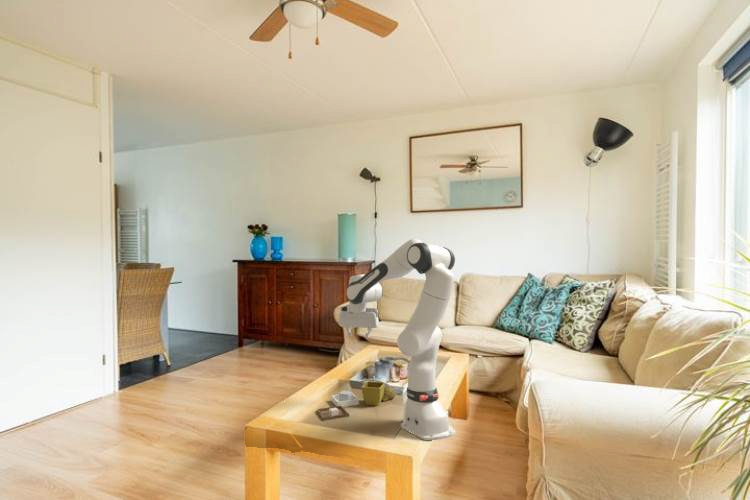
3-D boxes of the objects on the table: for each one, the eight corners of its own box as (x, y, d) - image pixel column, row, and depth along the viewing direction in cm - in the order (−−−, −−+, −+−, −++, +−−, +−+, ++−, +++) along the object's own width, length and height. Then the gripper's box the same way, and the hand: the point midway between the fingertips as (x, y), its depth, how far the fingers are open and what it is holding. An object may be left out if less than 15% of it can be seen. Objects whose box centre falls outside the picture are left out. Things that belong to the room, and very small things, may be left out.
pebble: (352, 401, 186) (351, 391, 186) (348, 404, 181) (347, 394, 182) (343, 400, 187) (343, 390, 187) (339, 403, 183) (338, 393, 183)
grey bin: (359, 405, 181) (358, 398, 181) (337, 409, 177) (337, 402, 177) (351, 398, 190) (351, 392, 190) (331, 402, 187) (331, 395, 187)
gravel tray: (349, 417, 167) (349, 413, 167) (323, 421, 163) (323, 418, 163) (341, 408, 177) (341, 405, 178) (317, 412, 173) (317, 409, 173)
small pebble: (338, 417, 167) (338, 409, 167) (331, 418, 165) (331, 411, 165) (335, 414, 169) (335, 407, 169) (329, 416, 168) (329, 408, 168)
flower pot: (380, 408, 177) (380, 387, 177) (361, 407, 179) (361, 386, 180) (385, 401, 186) (385, 382, 186) (367, 400, 188) (366, 381, 188)
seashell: (383, 411, 185) (393, 400, 182) (371, 401, 186) (380, 389, 184) (390, 400, 194) (399, 389, 191) (379, 390, 195) (388, 379, 192)
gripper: (380, 307, 192) (381, 336, 192) (342, 306, 200) (343, 334, 200) (375, 309, 186) (376, 338, 186) (336, 307, 194) (337, 336, 194)
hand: (358, 336), depth 193 cm, fingers open, 8 cm apart
